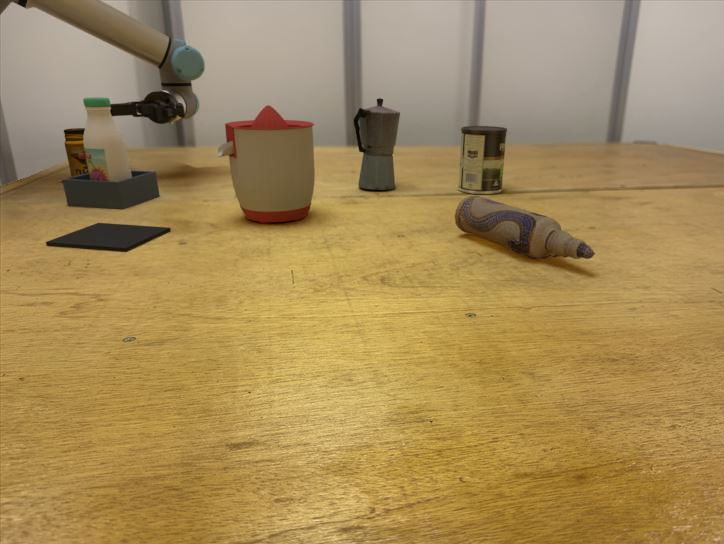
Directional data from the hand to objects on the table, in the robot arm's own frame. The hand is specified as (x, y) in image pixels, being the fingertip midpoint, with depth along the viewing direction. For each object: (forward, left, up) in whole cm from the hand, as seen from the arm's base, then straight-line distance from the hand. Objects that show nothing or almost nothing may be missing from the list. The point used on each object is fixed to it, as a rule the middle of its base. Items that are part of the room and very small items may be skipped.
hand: (123, 113), depth 118 cm
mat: (+19, -34, -17) cm, 42 cm away
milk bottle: (+2, -10, -16) cm, 19 cm away
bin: (+2, -10, -17) cm, 19 cm away
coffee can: (+76, +20, -17) cm, 80 cm away
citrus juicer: (+39, -15, -17) cm, 45 cm away
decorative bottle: (+84, -26, -17) cm, 89 cm away
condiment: (-21, +9, -17) cm, 29 cm away
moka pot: (+52, +16, -17) cm, 57 cm away
